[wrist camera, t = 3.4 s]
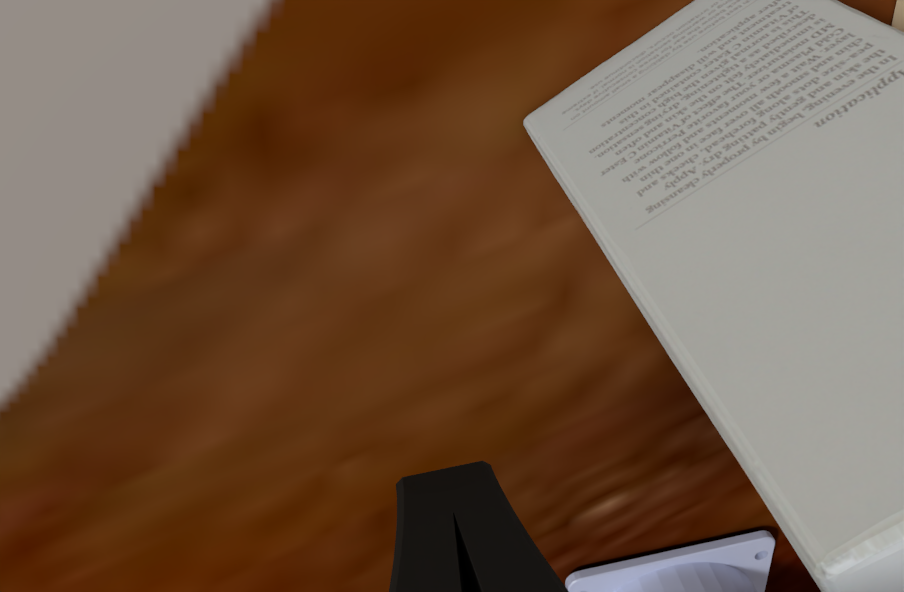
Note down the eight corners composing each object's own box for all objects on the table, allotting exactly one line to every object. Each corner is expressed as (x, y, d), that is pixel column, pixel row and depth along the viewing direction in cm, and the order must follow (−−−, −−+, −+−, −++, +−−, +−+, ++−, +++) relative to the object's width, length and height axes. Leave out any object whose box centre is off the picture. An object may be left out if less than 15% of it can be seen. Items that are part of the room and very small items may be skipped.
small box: (852, 201, 22) (1362, 624, 12) (651, 322, 24) (952, 802, 13) (755, -54, 18) (1445, 267, 7) (513, 113, 19) (806, 591, 9)
